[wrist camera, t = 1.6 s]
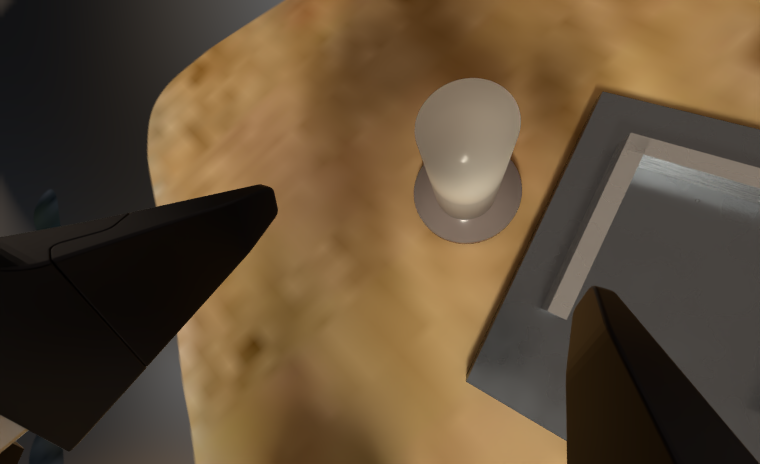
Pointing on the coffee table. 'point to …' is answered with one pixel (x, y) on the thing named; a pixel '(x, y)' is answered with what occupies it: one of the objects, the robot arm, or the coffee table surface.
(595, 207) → the keeper board
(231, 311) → the coffee table surface
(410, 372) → the coffee table surface
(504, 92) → the beige flared base peg
